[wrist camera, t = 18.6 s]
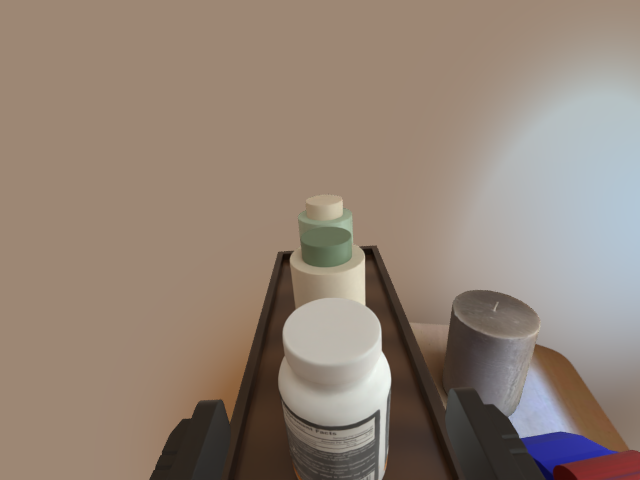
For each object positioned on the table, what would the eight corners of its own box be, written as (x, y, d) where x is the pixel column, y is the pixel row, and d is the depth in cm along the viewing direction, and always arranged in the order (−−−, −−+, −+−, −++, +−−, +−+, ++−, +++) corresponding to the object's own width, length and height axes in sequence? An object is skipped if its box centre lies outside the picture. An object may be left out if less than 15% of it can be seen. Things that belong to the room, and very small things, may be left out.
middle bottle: (348, 373, 24) (343, 259, 20) (286, 349, 27) (271, 245, 23) (375, 327, 28) (376, 227, 24) (320, 311, 31) (312, 218, 27)
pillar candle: (480, 355, 48) (495, 275, 42) (536, 408, 40) (565, 316, 34) (427, 373, 46) (436, 290, 40) (475, 432, 38) (495, 338, 31)
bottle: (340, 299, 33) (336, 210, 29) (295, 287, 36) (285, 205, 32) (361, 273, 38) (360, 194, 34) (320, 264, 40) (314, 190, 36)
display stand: (466, 746, 19) (534, 622, 11) (251, 751, 20) (170, 634, 12) (375, 353, 51) (376, 245, 42) (292, 357, 51) (278, 251, 43)
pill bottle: (321, 399, 22) (311, 282, 18) (400, 435, 19) (408, 306, 15) (273, 476, 17) (244, 344, 13) (365, 539, 15) (364, 395, 11)
